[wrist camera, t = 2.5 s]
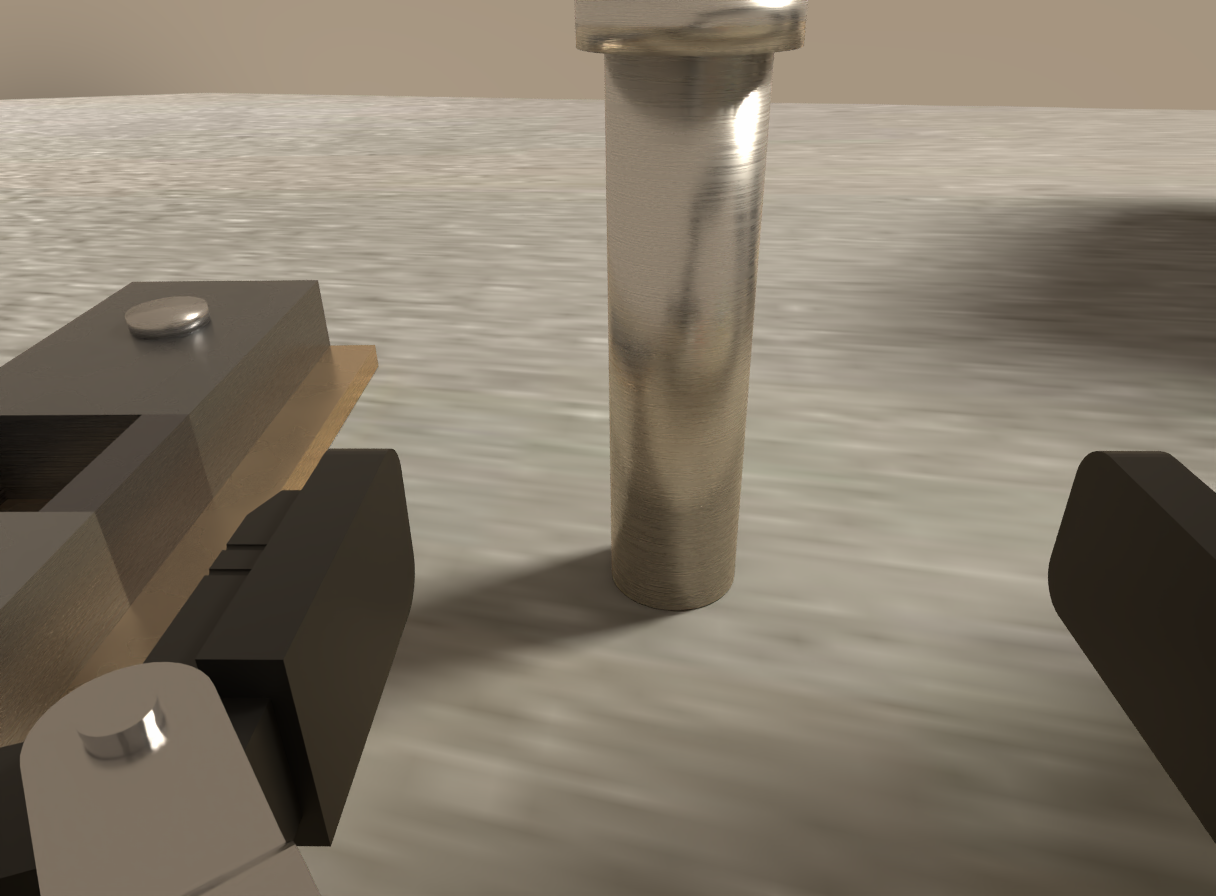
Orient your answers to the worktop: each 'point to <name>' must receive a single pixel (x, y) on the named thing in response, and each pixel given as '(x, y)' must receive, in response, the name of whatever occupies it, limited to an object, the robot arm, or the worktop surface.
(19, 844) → the robot arm
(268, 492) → the pin socket base plate
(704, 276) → the steel pin
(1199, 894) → the worktop surface
